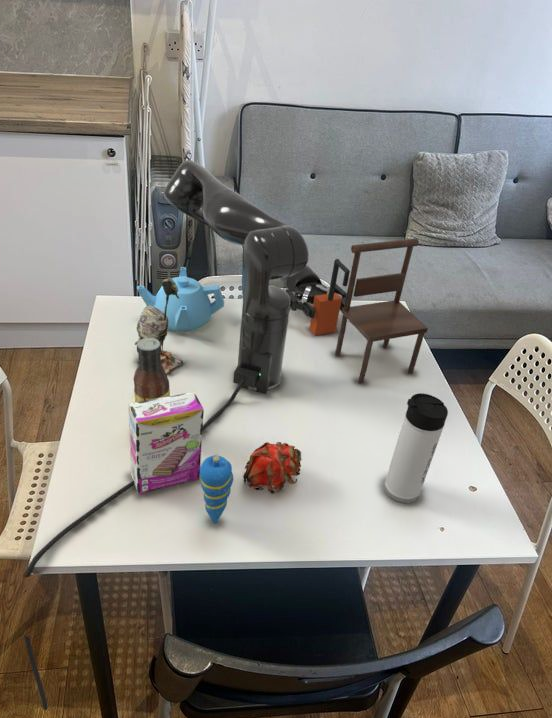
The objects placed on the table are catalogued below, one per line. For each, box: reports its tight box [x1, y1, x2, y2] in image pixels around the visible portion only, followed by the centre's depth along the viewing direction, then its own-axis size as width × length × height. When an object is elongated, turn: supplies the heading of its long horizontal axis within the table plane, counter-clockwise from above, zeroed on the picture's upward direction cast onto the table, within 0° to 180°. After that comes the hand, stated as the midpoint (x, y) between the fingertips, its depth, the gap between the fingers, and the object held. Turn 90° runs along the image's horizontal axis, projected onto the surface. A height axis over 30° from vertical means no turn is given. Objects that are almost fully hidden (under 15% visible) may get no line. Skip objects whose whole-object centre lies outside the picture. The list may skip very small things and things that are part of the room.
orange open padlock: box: [308, 258, 351, 336], centre depth 144 cm, size 8×6×19 cm
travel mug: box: [383, 392, 449, 504], centre depth 106 cm, size 6×7×20 cm
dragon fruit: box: [242, 441, 303, 495], centre depth 109 cm, size 8×8×12 cm
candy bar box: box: [128, 391, 205, 495], centre depth 105 cm, size 11×5×16 cm, turn 114°
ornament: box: [199, 455, 234, 524], centre depth 99 cm, size 5×5×15 cm
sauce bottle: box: [133, 338, 171, 403], centre depth 113 cm, size 7×6×20 cm
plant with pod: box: [133, 277, 185, 374], centre depth 130 cm, size 8×11×20 cm
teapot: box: [136, 266, 225, 333], centre depth 147 cm, size 15×15×11 cm
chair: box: [334, 237, 429, 385], centre depth 134 cm, size 12×15×27 cm
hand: (329, 312), depth 147 cm, fingers open, 8 cm apart
